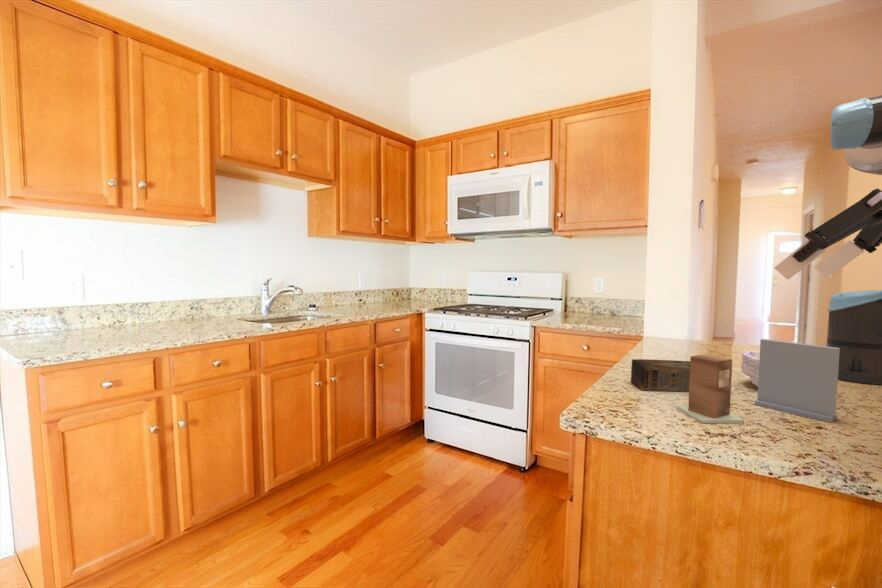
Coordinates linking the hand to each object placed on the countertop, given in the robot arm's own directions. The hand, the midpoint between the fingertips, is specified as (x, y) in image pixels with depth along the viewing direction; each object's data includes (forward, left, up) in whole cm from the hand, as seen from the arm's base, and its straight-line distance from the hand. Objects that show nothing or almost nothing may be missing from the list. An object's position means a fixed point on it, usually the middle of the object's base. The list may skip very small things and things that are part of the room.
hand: (801, 272), depth 71 cm
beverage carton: (+6, -26, -29) cm, 39 cm away
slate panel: (-8, -9, -28) cm, 31 cm away
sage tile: (+11, -7, -28) cm, 31 cm away
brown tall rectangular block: (+11, -7, -28) cm, 31 cm away
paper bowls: (-18, -24, -29) cm, 42 cm away
